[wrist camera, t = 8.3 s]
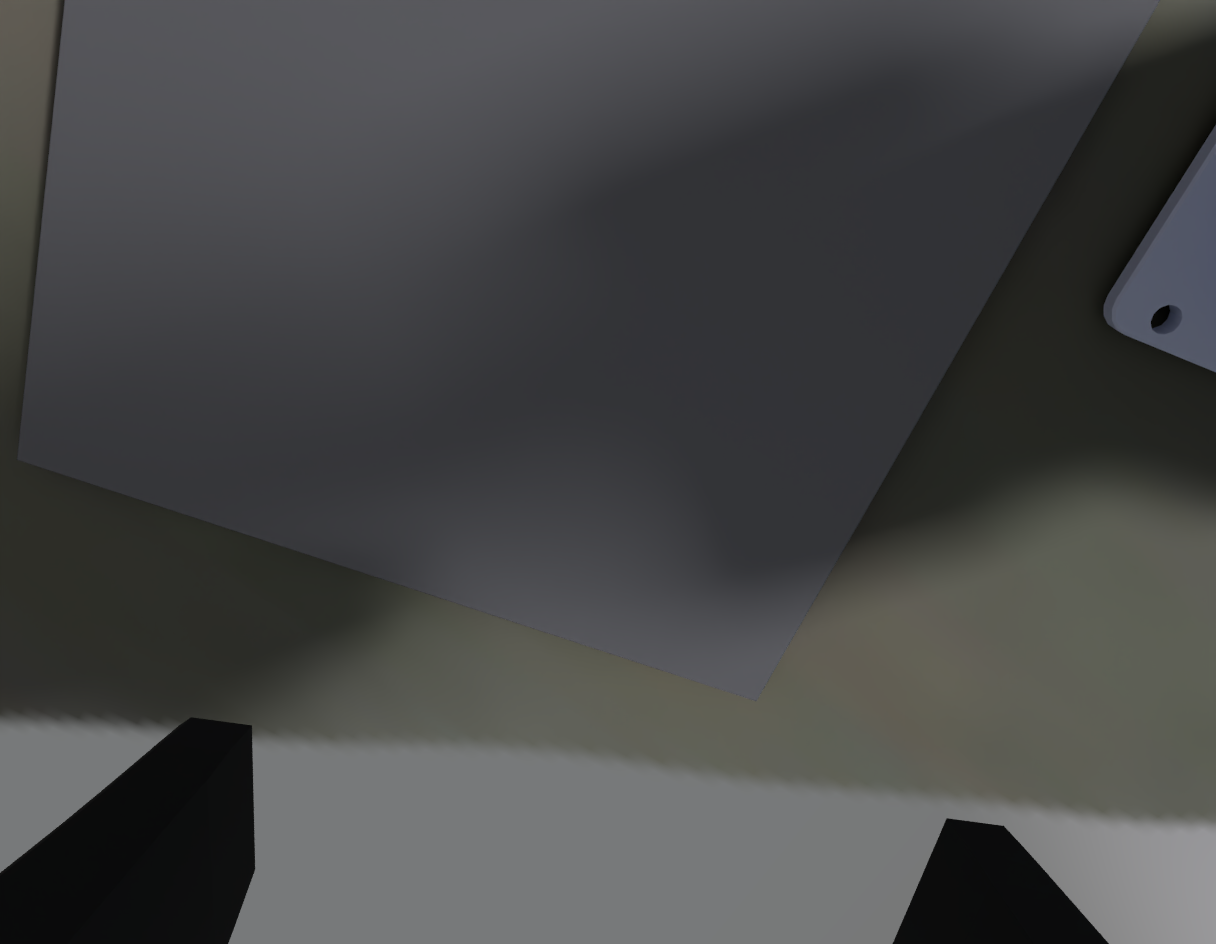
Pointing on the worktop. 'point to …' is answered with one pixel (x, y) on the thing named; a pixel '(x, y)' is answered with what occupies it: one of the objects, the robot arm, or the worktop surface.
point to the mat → (540, 281)
